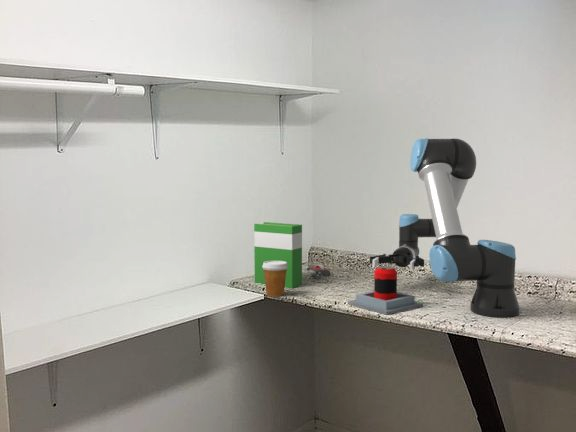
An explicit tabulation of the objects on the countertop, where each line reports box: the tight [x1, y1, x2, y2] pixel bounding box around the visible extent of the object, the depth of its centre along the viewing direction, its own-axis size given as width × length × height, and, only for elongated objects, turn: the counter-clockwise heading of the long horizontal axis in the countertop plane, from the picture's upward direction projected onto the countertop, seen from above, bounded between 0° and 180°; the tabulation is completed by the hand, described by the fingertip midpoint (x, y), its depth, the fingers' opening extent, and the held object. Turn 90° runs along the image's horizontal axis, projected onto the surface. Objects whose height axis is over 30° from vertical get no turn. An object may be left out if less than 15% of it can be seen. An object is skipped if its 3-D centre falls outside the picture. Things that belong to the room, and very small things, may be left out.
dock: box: [347, 290, 424, 316], centre depth 208 cm, size 18×18×4 cm
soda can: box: [373, 265, 398, 301], centre depth 208 cm, size 8×8×12 cm
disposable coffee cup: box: [262, 261, 288, 298], centre depth 224 cm, size 10×10×12 cm
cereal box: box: [253, 221, 303, 289], centre depth 241 cm, size 18×7×24 cm, turn 58°
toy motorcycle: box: [306, 263, 331, 280], centre depth 260 cm, size 9×4×20 cm
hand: (392, 264), depth 218 cm, fingers open, 13 cm apart
